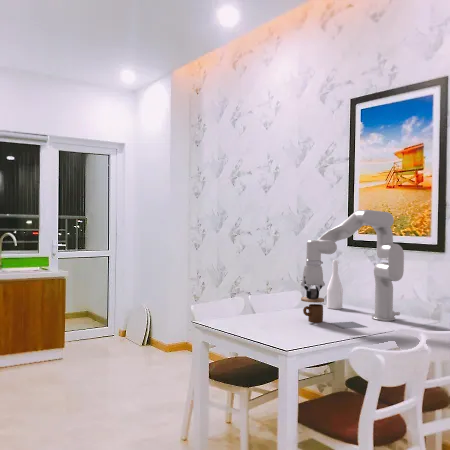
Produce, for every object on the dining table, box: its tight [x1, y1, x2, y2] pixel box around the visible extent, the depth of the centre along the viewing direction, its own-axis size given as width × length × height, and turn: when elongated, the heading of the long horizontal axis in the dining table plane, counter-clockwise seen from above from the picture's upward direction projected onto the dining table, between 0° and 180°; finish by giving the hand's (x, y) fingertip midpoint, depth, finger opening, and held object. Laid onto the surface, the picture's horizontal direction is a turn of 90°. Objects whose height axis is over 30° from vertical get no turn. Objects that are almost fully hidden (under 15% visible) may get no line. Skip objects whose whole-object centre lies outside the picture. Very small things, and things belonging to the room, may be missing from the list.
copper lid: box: [300, 287, 325, 304], centre depth 263 cm, size 12×12×6 cm
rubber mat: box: [328, 321, 368, 330], centre depth 256 cm, size 15×14×1 cm
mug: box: [302, 303, 324, 324], centre depth 263 cm, size 12×8×9 cm, turn 119°
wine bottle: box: [326, 259, 344, 310], centre depth 311 cm, size 10×10×30 cm
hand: (312, 297), depth 263 cm, fingers closed on copper lid, 4 cm apart
